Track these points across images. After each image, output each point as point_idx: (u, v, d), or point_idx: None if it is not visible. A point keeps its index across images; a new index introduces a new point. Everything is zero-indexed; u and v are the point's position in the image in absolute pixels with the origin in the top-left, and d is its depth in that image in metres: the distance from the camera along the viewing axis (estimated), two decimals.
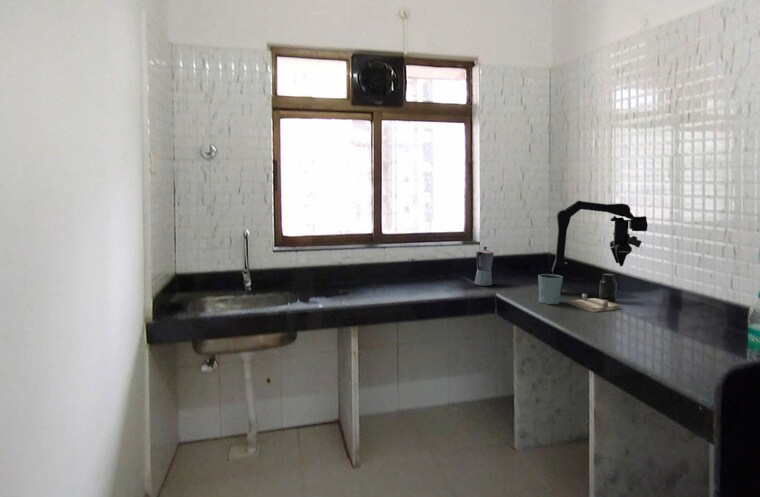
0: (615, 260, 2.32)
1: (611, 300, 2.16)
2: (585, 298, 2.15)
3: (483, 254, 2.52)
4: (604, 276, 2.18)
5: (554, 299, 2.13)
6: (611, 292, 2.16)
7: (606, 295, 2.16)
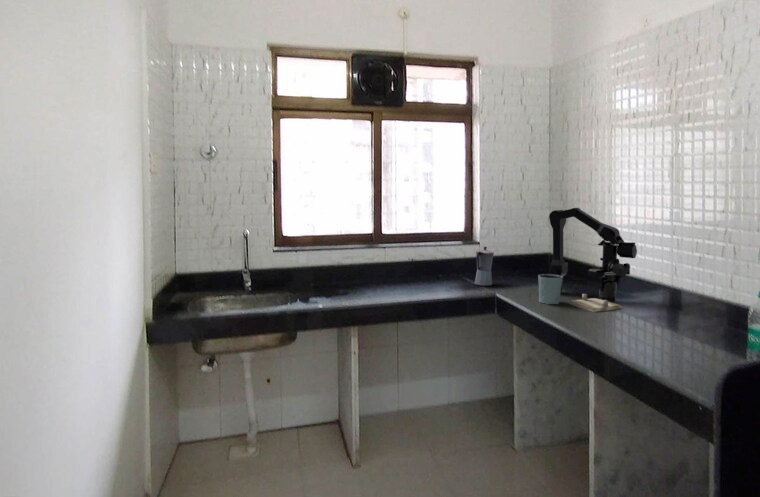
0: None
1: (611, 300, 2.16)
2: (585, 298, 2.15)
3: (483, 254, 2.52)
4: (604, 276, 2.18)
5: (554, 299, 2.13)
6: (611, 292, 2.16)
7: (606, 295, 2.16)
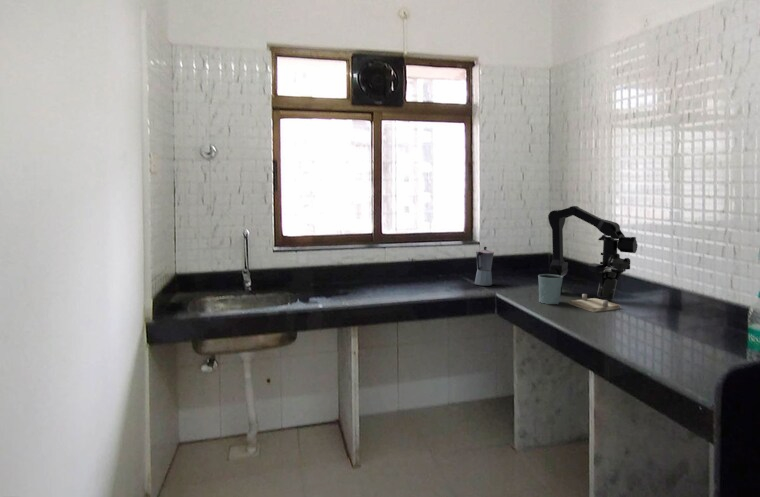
0: None
1: (609, 297, 2.16)
2: (585, 298, 2.15)
3: (483, 254, 2.52)
4: None
5: (554, 299, 2.13)
6: (609, 289, 2.15)
7: (605, 291, 2.16)
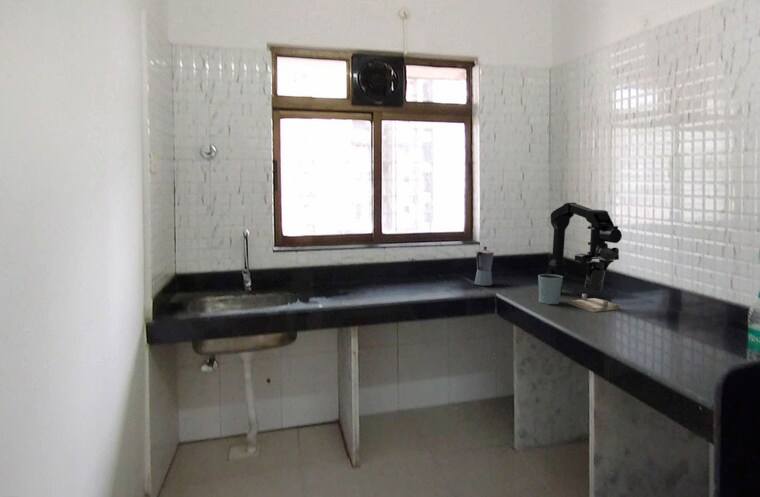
0: None
1: (596, 289, 2.06)
2: (585, 298, 2.15)
3: (483, 254, 2.52)
4: None
5: (554, 299, 2.13)
6: (597, 280, 2.05)
7: (592, 282, 2.06)
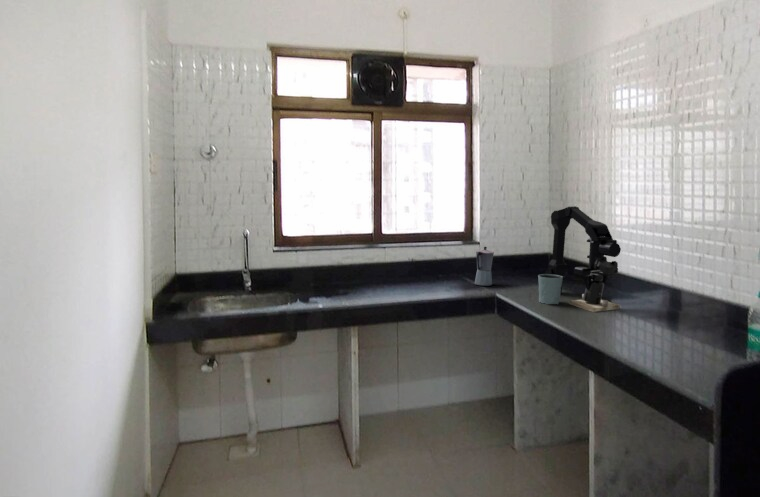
0: None
1: (595, 301, 2.06)
2: None
3: (483, 254, 2.52)
4: (592, 275, 2.08)
5: (554, 299, 2.13)
6: (596, 293, 2.06)
7: (591, 295, 2.07)
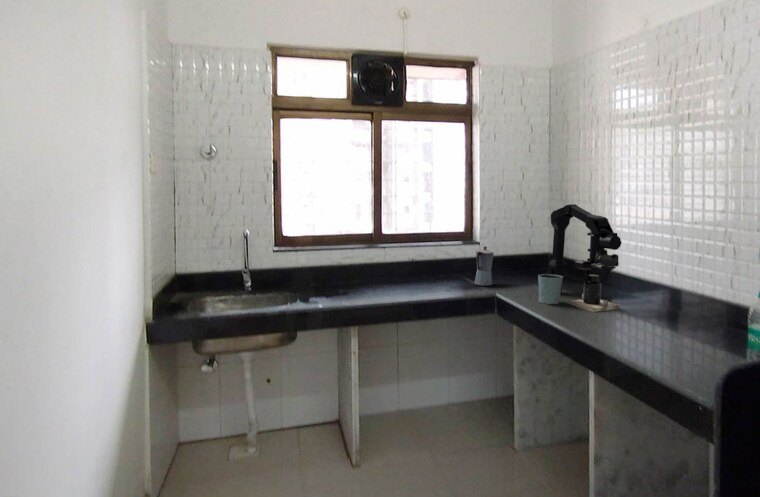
0: (602, 279, 2.11)
1: (595, 302, 2.06)
2: None
3: (483, 254, 2.52)
4: None
5: (554, 299, 2.13)
6: (594, 294, 2.06)
7: (590, 297, 2.07)
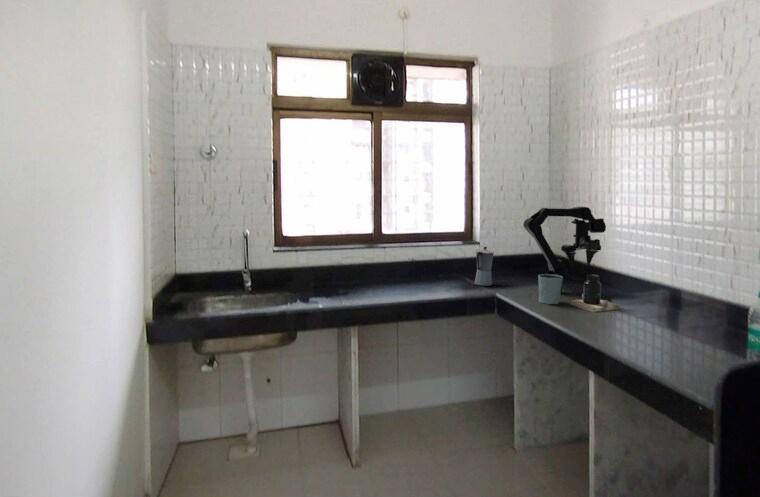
0: None
1: (595, 302, 2.06)
2: None
3: (483, 254, 2.52)
4: (588, 277, 2.08)
5: (554, 299, 2.13)
6: (594, 294, 2.06)
7: (590, 297, 2.07)
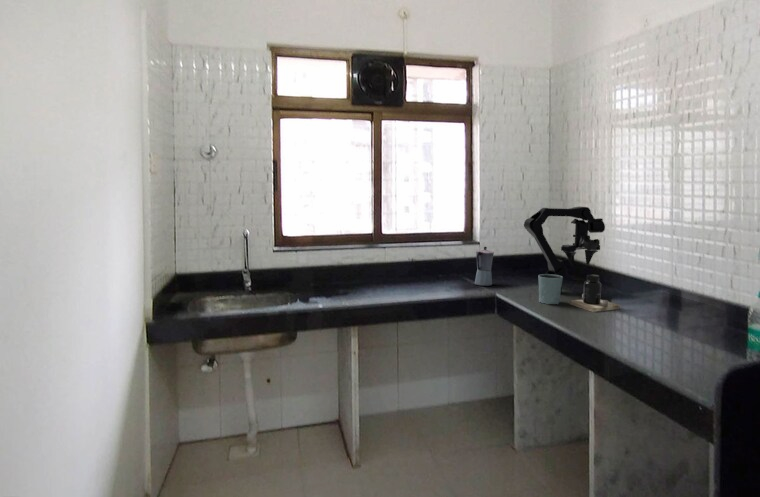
0: (586, 261, 2.39)
1: (595, 302, 2.06)
2: None
3: (483, 254, 2.52)
4: (588, 277, 2.08)
5: (554, 299, 2.13)
6: (594, 294, 2.06)
7: (590, 297, 2.07)
